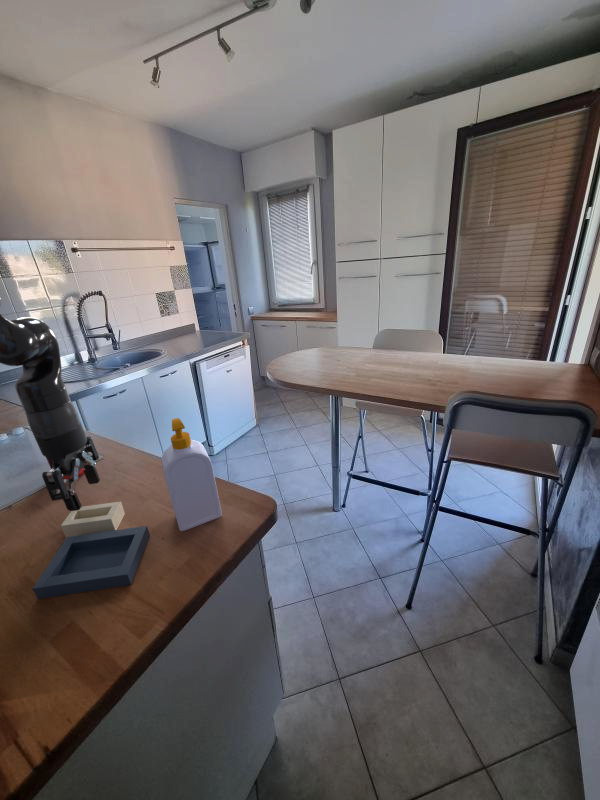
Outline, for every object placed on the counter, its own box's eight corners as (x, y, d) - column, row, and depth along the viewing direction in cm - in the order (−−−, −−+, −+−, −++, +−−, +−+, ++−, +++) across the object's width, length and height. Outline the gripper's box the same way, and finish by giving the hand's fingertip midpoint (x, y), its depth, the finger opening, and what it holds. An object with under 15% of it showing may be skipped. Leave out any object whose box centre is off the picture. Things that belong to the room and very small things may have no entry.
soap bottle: (215, 498, 78) (196, 410, 69) (222, 516, 72) (203, 423, 63) (175, 512, 75) (150, 421, 66) (180, 532, 69) (153, 436, 60)
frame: (66, 538, 70) (60, 525, 68) (79, 519, 75) (73, 507, 73) (115, 531, 70) (111, 518, 69) (125, 513, 75) (120, 501, 74)
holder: (37, 599, 57) (31, 588, 56) (71, 546, 67) (67, 536, 66) (131, 584, 58) (127, 574, 57) (150, 535, 69) (147, 525, 68)
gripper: (56, 413, 69) (83, 477, 76) (10, 448, 56) (47, 522, 62) (94, 408, 70) (117, 473, 76) (57, 443, 57) (88, 516, 63)
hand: (85, 495), depth 69 cm, fingers open, 8 cm apart
